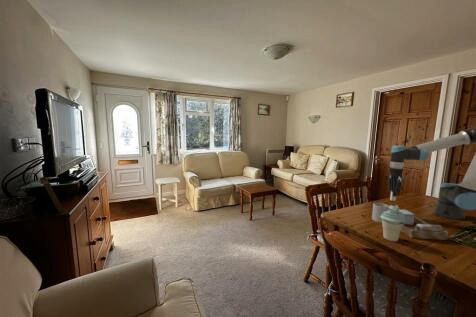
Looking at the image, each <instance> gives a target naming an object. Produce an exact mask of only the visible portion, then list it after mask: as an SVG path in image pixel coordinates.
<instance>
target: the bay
mask: <svg viewBox="0 0 476 317" xmlns="http://www.w3.org/2000/svg"><path fill="white" fill-rule="evenodd" d="M414 224H416V225H414V229H411V228H409V227H407V226H406V225H405V224H403V226H402V229H401V231H400V232H402V233H403V234H405V235H407V236H408V237H409V238H410V239H413V238H414V239H426V240H445V241H448V239H449V232H448V231H447V230H444V229H445V228H444V227H443V226H442V225H440V224H430V223H428V222H426V221H424V220H423V219H421V218H419V217H416V216H414Z"/></svg>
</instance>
